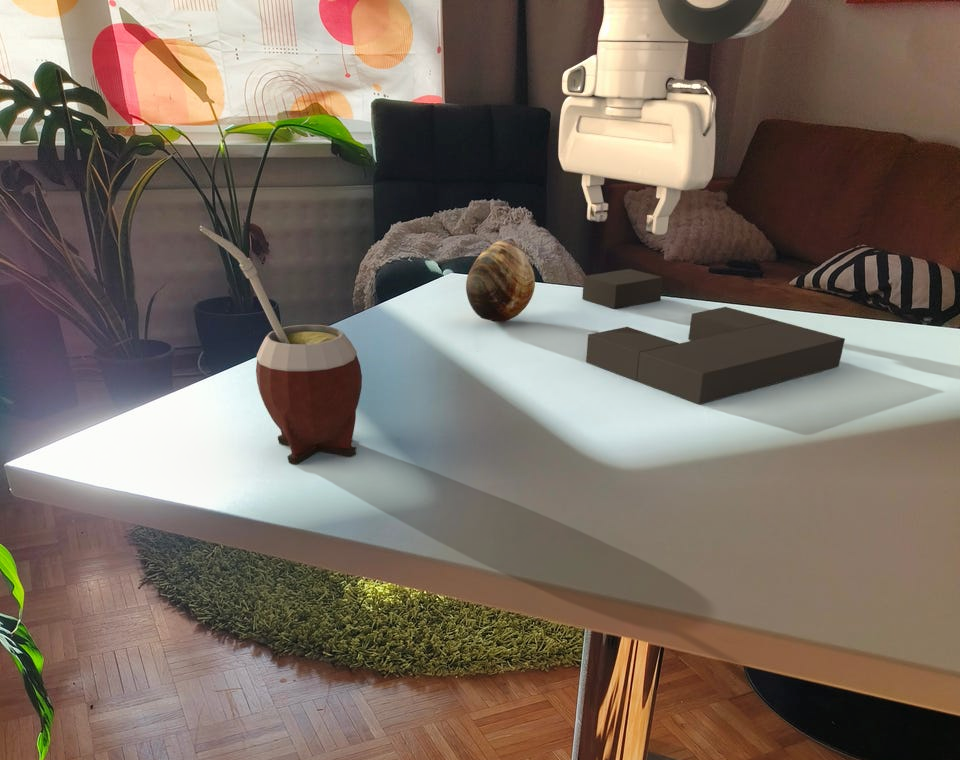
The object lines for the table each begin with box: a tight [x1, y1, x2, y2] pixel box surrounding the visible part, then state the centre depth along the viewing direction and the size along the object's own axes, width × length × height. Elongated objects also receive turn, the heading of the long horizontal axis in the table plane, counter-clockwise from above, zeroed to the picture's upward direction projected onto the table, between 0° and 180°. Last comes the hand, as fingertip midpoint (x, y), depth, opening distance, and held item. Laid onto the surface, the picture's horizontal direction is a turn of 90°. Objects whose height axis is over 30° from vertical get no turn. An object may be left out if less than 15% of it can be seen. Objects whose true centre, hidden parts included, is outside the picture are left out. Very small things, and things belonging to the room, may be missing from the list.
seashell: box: [465, 236, 536, 323], centre depth 91 cm, size 10×6×8 cm, turn 143°
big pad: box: [585, 306, 846, 405], centre depth 80 cm, size 18×14×2 cm
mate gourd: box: [199, 225, 363, 465], centre depth 59 cm, size 8×8×15 cm
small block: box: [582, 268, 664, 310], centre depth 101 cm, size 7×6×2 cm
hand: (625, 227), depth 97 cm, fingers open, 8 cm apart
